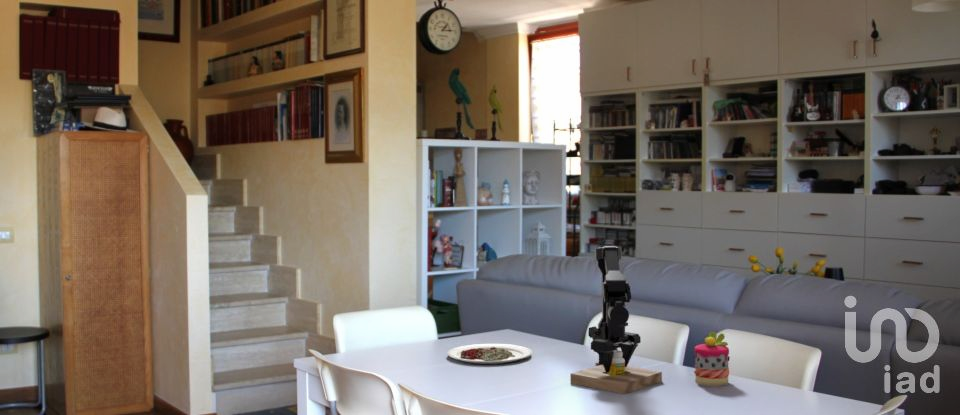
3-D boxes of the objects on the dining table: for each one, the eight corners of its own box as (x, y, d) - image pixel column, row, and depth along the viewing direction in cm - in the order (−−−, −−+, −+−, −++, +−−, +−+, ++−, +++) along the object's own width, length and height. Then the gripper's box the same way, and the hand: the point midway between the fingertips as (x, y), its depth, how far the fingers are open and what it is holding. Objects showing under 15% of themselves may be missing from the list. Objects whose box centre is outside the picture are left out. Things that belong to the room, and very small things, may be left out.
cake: (728, 387, 261) (728, 337, 260) (692, 385, 264) (691, 336, 264) (730, 379, 270) (730, 331, 270) (696, 377, 274) (695, 330, 273)
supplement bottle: (617, 379, 273) (616, 349, 272) (628, 382, 268) (628, 351, 268) (604, 381, 270) (603, 351, 269) (615, 385, 265) (615, 354, 265)
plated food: (549, 358, 306) (549, 349, 306) (478, 370, 289) (478, 360, 289) (499, 345, 330) (499, 336, 330) (431, 355, 314) (431, 346, 314)
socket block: (609, 371, 283) (608, 362, 283) (661, 381, 269) (661, 371, 269) (570, 383, 269) (570, 373, 269) (624, 393, 255) (624, 383, 255)
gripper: (612, 312, 281) (612, 360, 281) (576, 320, 267) (576, 370, 268) (641, 316, 273) (641, 365, 274) (605, 324, 260) (606, 376, 260)
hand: (616, 369), depth 269 cm, fingers open, 9 cm apart
